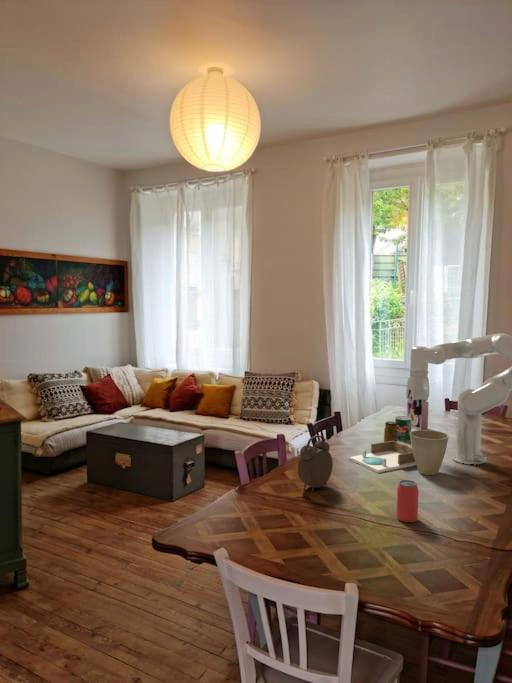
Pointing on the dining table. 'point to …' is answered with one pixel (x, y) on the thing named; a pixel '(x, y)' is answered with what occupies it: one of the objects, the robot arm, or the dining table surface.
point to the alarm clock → (315, 463)
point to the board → (380, 461)
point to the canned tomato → (403, 428)
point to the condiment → (390, 431)
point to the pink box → (418, 416)
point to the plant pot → (428, 450)
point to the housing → (405, 450)
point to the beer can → (407, 501)
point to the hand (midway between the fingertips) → (417, 414)
